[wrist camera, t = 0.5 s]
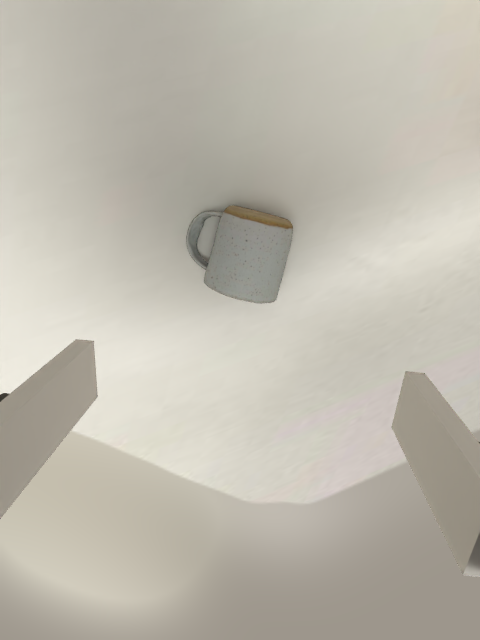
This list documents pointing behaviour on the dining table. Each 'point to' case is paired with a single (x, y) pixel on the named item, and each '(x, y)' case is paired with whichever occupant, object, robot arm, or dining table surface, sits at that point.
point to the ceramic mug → (244, 253)
